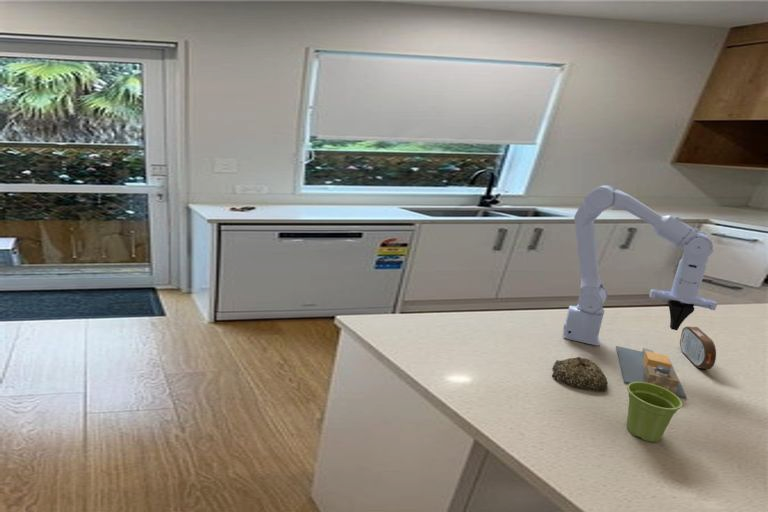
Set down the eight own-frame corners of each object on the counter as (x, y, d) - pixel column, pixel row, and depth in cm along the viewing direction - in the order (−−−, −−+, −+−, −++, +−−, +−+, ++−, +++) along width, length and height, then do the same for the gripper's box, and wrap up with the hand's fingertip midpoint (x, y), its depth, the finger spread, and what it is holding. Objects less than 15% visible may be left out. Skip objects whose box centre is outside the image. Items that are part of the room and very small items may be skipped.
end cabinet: (645, 387, 106) (649, 374, 105) (642, 377, 110) (646, 364, 109) (674, 394, 104) (679, 381, 103) (670, 384, 108) (674, 371, 107)
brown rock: (609, 397, 102) (614, 378, 100) (552, 384, 105) (556, 365, 103) (600, 370, 113) (605, 353, 112) (549, 359, 117) (553, 342, 115)
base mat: (624, 383, 108) (624, 381, 108) (615, 347, 127) (616, 345, 127) (686, 398, 104) (686, 396, 103) (668, 359, 122) (668, 357, 122)
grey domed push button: (653, 385, 106) (657, 369, 105) (651, 379, 109) (655, 364, 107) (666, 388, 105) (671, 372, 104) (664, 382, 108) (669, 367, 107)
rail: (651, 380, 109) (652, 375, 109) (641, 352, 124) (643, 348, 123) (662, 383, 108) (664, 377, 108) (651, 355, 123) (652, 350, 122)
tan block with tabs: (644, 373, 112) (648, 359, 110) (641, 364, 116) (645, 350, 115) (667, 378, 110) (671, 364, 109) (663, 369, 114) (667, 355, 113)
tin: (711, 375, 116) (721, 346, 114) (698, 373, 117) (708, 343, 114) (686, 349, 130) (694, 322, 128) (674, 347, 131) (682, 320, 128)
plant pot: (607, 416, 94) (617, 380, 91) (649, 417, 95) (660, 381, 92) (635, 447, 85) (647, 408, 82) (681, 448, 86) (694, 409, 83)
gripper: (658, 278, 113) (644, 327, 117) (726, 290, 108) (710, 341, 112) (653, 271, 119) (641, 318, 123) (717, 282, 114) (702, 330, 118)
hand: (673, 328), depth 118 cm, fingers closed
